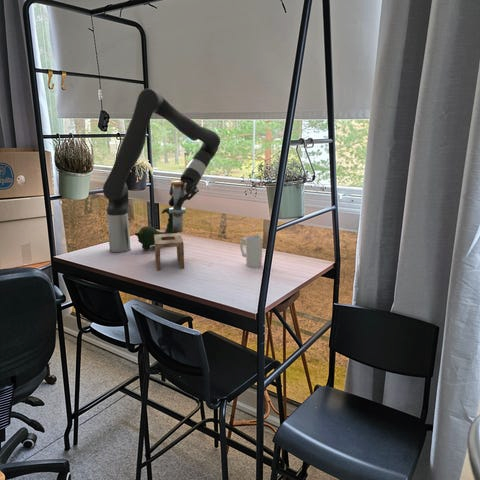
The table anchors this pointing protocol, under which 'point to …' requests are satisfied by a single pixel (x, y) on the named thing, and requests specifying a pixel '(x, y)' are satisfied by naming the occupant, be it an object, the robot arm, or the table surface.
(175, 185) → the pin
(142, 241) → the toy figurine
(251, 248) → the mug
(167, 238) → the wooden block with hole
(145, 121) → the robot arm
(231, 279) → the table surface
